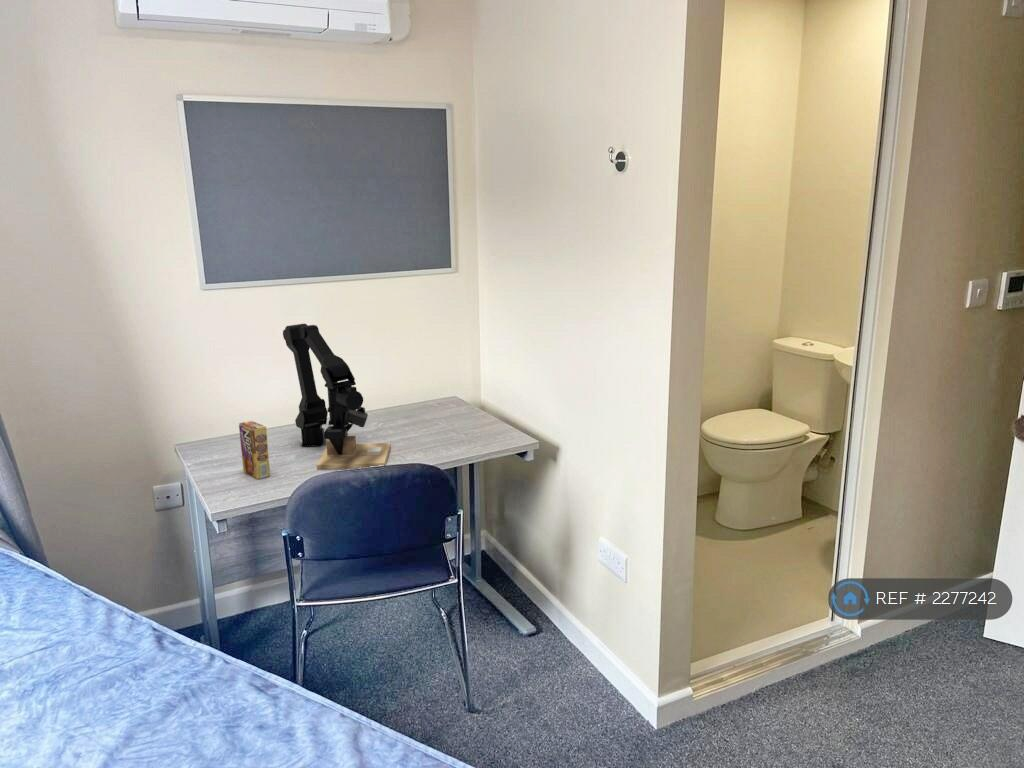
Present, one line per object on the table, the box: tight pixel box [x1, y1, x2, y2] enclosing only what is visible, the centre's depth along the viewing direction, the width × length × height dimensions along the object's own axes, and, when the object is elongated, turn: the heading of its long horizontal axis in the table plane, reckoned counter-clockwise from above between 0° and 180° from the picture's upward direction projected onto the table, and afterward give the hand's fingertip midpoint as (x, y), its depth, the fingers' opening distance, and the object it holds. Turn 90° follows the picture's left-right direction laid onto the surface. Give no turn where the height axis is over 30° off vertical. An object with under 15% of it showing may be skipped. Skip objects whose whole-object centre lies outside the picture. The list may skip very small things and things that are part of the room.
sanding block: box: [325, 435, 357, 457], centre depth 231 cm, size 8×5×5 cm, turn 91°
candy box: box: [238, 420, 271, 480], centre depth 218 cm, size 9×4×15 cm, turn 47°
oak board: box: [316, 442, 391, 471], centre depth 232 cm, size 20×18×2 cm
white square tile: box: [367, 447, 382, 455], centre depth 232 cm, size 4×4×1 cm
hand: (341, 451), depth 231 cm, fingers closed on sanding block, 5 cm apart
